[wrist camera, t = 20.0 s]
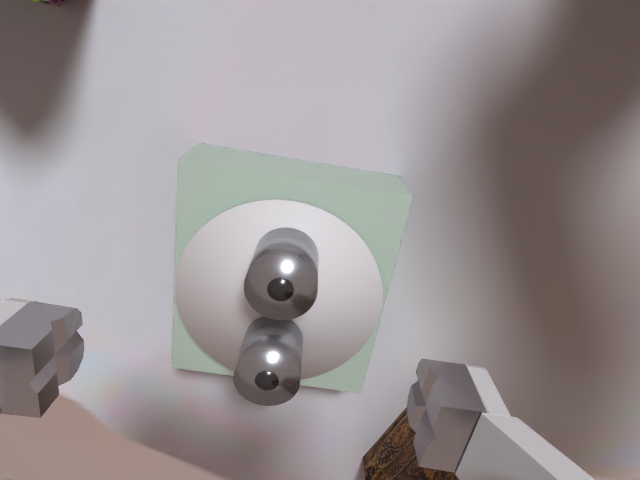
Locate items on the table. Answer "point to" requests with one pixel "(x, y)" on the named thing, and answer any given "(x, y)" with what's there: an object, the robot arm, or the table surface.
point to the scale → (240, 243)
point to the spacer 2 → (269, 361)
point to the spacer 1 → (283, 274)
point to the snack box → (50, 2)
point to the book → (399, 456)
